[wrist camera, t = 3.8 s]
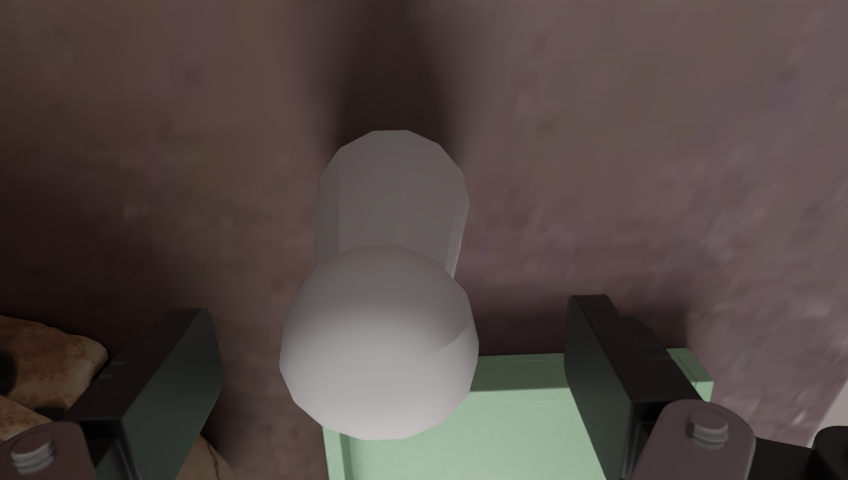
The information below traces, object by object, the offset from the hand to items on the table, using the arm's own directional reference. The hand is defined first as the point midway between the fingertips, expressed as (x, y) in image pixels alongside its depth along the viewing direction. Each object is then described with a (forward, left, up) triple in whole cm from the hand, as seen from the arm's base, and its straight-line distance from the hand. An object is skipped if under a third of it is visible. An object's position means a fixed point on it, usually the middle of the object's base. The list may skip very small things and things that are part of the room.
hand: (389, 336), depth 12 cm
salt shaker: (0, 0, -12) cm, 12 cm away
